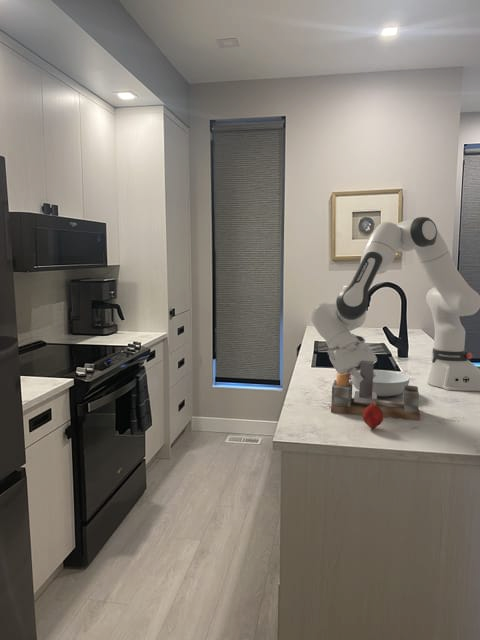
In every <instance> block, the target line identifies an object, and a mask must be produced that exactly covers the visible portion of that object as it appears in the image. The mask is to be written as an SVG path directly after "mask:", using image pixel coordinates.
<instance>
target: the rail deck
mask: <svg viewBox="0 0 480 640" xmlns="http://www.w3.org/2000/svg"><path fill="white" fill-rule="evenodd" d="M336 383H337V379H334V380H333V384H332V387H331V404H330V405H331V406H330V412H331V413H334V414H336V413H337V414H345V415H346V414H347V415H355V414H356V415H357V416H363V412H364V410H365V409H366V408H367V407H368V406H370V405H371V404H372V403H361V402H354V397H353V381H351V380H349V386H336ZM419 403H420V393H419V387H418V386H417V385H408V386H407V385H404V391H403V392H402V401H394V400H384V399H383V400H381V399H377V404H376V406H378V407H379V408H380V409H381V411H382V413H383V418H387V417H392V418H391V419H398V418H402V419H401V420H409V419H412V420H413V421H420V418H421V413H420V409H419Z"/></svg>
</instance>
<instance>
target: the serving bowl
mask: <svg viewBox="0 0 480 640" xmlns="http://www.w3.org/2000/svg"><path fill="white" fill-rule="evenodd" d="M373 371H374V373H375V374H376V376H375V377H374V378H373V387H372V392H374V393H377V398H386V397H387V398H389V397H392V396H398V395H400V394H403V391H404V385H407V386H409V384H410V379H411V378H410V377H409V376H408V375H406V374H403V373H400V372H395V371H391V370H390V371H388V370H382V369H373ZM357 372H358V373H359V374H360V370H359V371H357ZM350 381H353V384H352V386H353V387H354V388H355V389H356V390H357V391H359V390H360V382H359V381H358V380H357V379H356V378H355V377H353V376H352V375H351V379H350Z"/></svg>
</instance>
